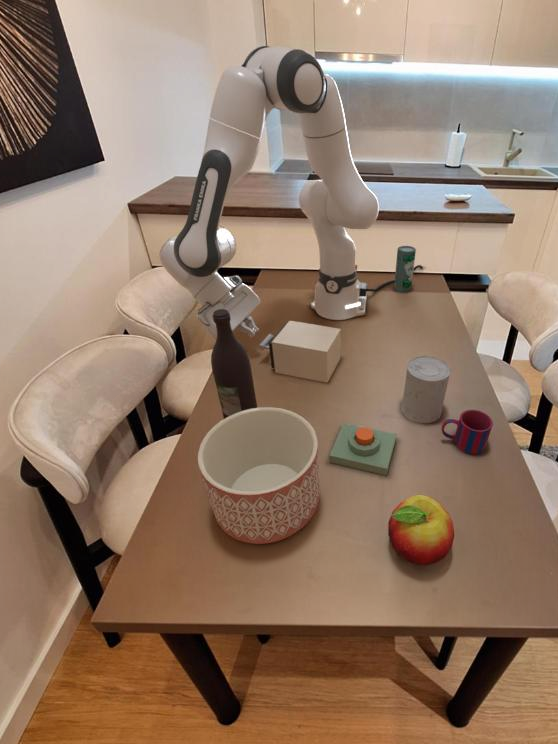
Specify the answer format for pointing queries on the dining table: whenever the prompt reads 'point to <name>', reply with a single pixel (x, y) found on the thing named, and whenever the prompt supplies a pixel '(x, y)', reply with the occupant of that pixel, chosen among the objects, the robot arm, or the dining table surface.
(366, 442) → the button
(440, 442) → the dining table surface
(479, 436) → the mug
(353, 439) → the box
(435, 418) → the gray concrete cylinder
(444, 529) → the fruit
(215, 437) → the planter
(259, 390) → the dining table surface
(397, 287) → the can
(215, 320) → the wine bottle
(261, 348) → the drawer
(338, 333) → the cream cardboard box
